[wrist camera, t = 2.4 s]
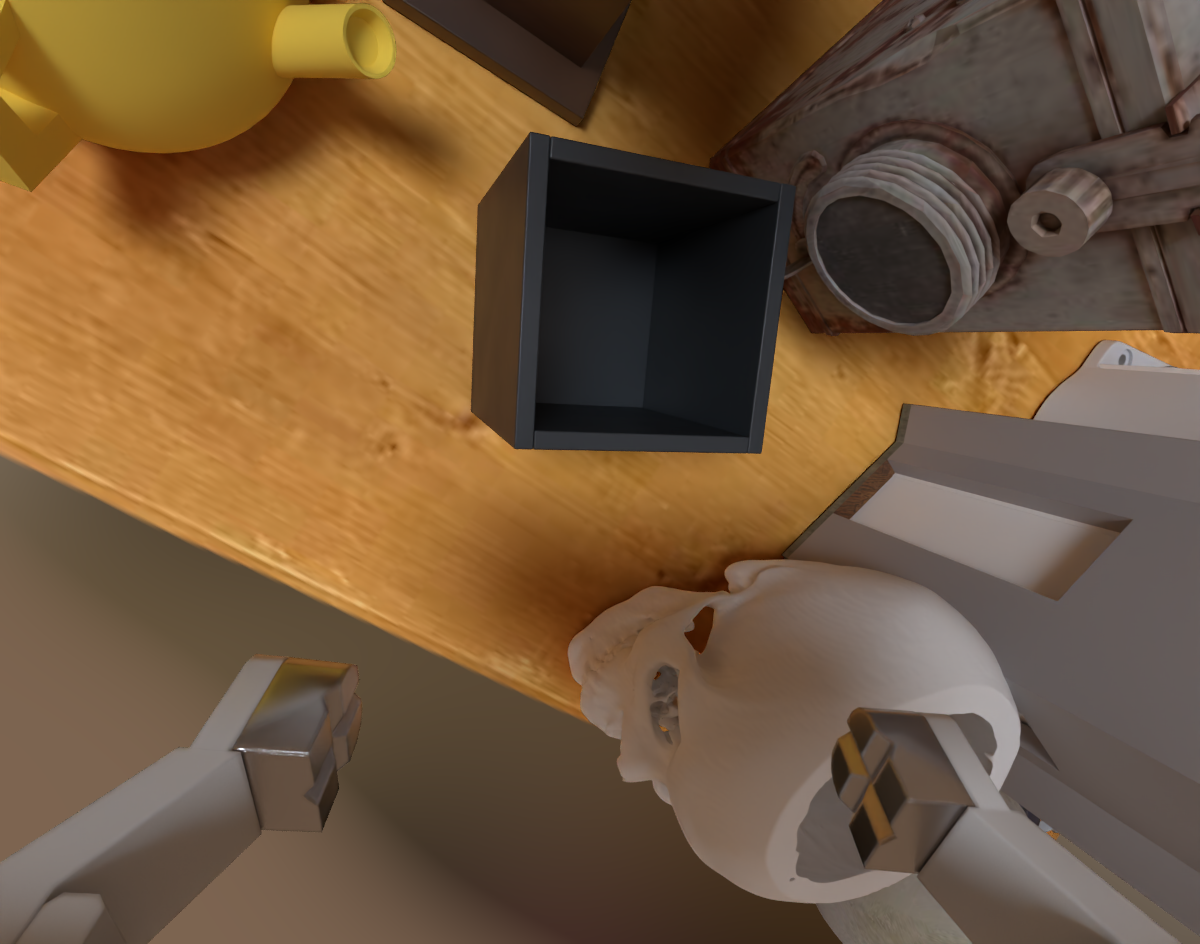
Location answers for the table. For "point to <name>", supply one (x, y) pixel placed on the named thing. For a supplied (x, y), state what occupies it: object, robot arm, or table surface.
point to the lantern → (992, 169)
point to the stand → (530, 42)
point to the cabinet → (1061, 613)
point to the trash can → (626, 301)
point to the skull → (782, 708)
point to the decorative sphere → (897, 913)
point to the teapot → (164, 71)
